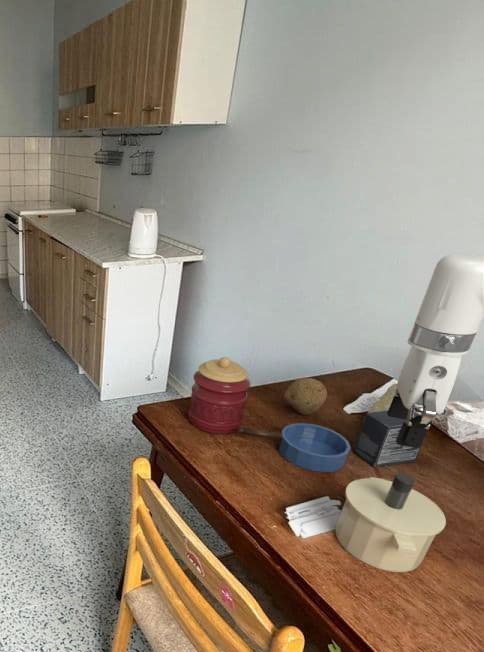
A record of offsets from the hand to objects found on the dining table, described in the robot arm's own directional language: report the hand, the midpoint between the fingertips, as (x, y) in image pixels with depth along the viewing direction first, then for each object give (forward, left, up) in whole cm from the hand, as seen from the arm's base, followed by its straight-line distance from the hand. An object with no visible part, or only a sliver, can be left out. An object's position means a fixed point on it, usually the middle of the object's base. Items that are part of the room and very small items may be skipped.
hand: (402, 430), depth 81 cm
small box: (-7, -22, -19) cm, 30 cm away
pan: (+8, -18, -19) cm, 27 cm away
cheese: (-11, -39, -19) cm, 45 cm away
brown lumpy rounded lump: (+8, -37, -19) cm, 42 cm away
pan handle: (+19, -18, -16) cm, 30 cm away
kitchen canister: (+29, -26, -19) cm, 43 cm away
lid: (+1, +8, -10) cm, 13 cm away
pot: (0, +8, -19) cm, 20 cm away
